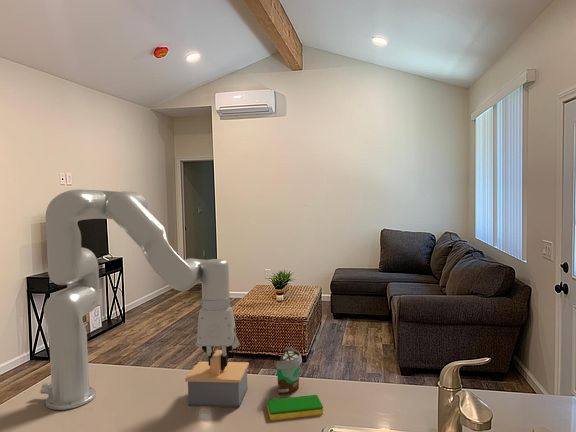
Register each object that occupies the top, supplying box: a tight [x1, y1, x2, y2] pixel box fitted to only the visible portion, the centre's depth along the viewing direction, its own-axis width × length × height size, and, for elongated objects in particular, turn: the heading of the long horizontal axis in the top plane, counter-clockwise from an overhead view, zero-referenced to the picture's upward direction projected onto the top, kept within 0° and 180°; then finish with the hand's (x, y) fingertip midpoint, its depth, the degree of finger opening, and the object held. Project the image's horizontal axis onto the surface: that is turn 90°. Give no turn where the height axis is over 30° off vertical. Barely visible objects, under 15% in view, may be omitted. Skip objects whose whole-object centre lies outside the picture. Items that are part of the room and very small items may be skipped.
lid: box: [184, 349, 250, 383], centre depth 121 cm, size 15×12×6 cm
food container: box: [276, 347, 303, 396], centre depth 126 cm, size 12×6×10 cm, turn 168°
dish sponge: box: [266, 394, 324, 421], centre depth 113 cm, size 7×14×2 cm, turn 100°
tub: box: [187, 369, 248, 409], centre depth 121 cm, size 14×11×7 cm
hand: (218, 367), depth 121 cm, fingers closed on lid
